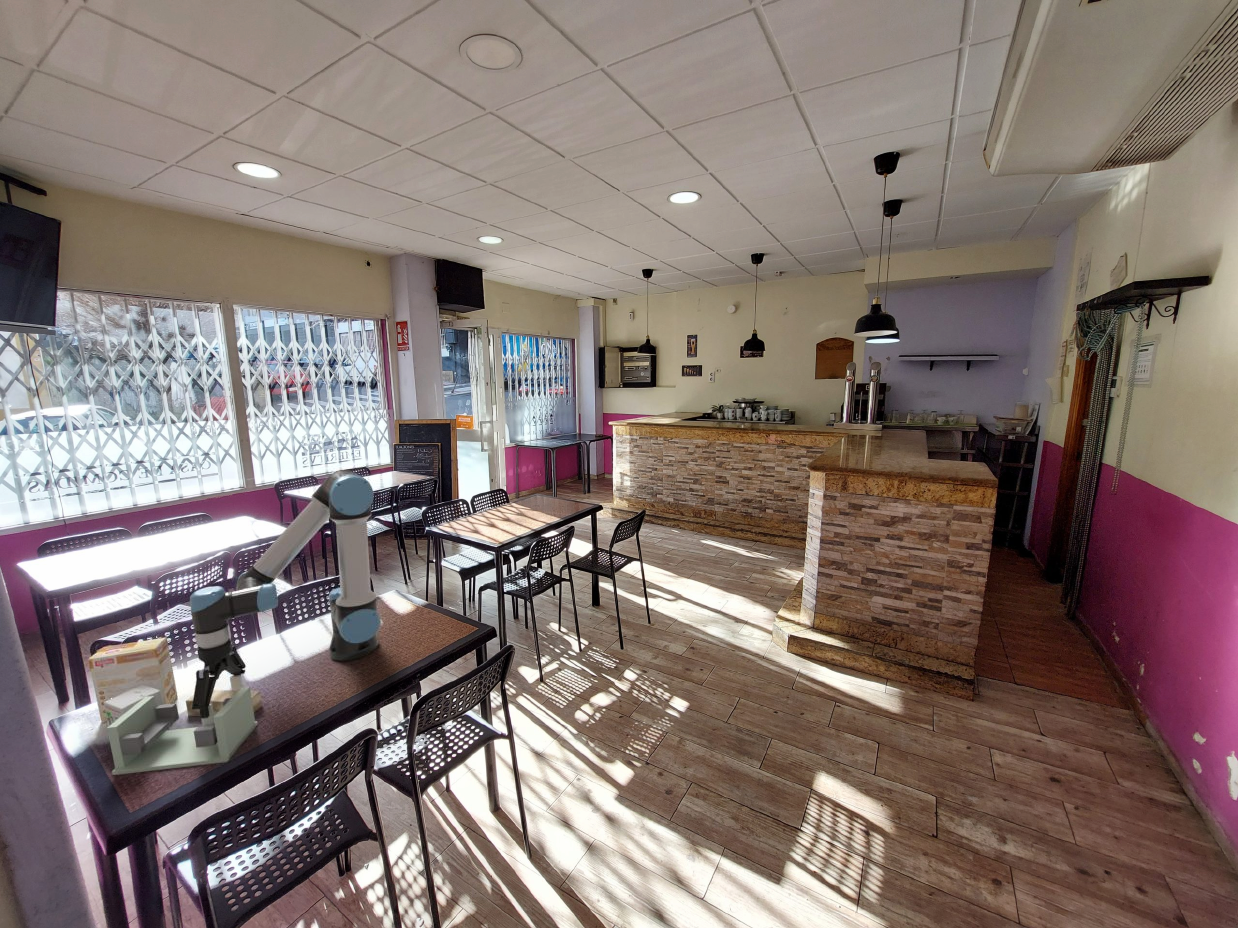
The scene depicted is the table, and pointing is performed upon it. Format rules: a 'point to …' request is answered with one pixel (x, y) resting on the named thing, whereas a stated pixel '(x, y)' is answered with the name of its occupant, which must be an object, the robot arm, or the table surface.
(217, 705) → the rail
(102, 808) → the table surface
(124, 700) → the ink box
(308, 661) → the table surface
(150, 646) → the coffeecake box
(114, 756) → the bracket stand
